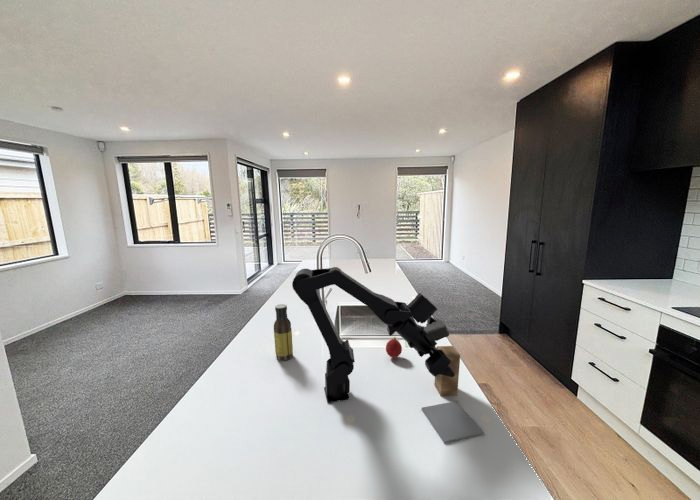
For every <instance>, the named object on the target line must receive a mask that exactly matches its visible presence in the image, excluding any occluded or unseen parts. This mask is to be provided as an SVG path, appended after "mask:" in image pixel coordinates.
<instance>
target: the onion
mask: <svg viewBox="0 0 700 500" xmlns="http://www.w3.org/2000/svg"><path fill="white" fill-rule="evenodd" d="M402 347H403V346H402V344H401V342H399V340H398V339H397V337H396V336H394V337H392V338H391V339H390V340H388V342H386V345H385V352H386V354H387V355H388V356H389V357H390V358H392V359H396V358H397V357H399V356H400V355H401V354H402V351H403V348H402Z"/></svg>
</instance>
